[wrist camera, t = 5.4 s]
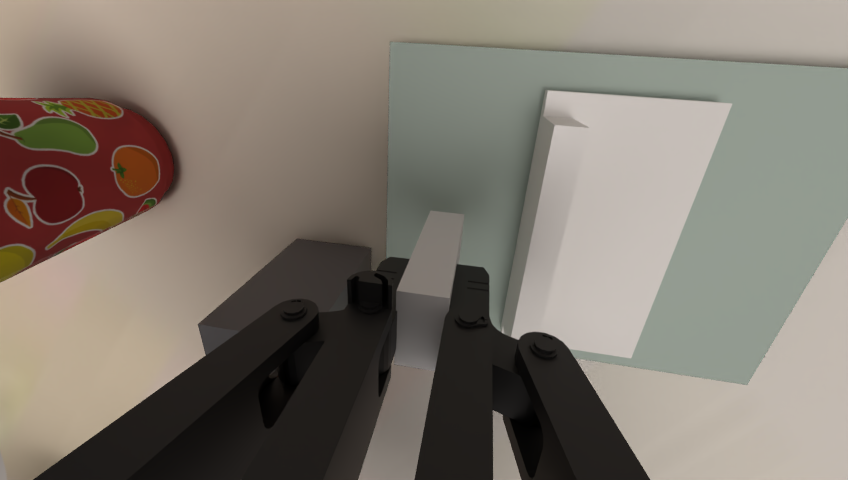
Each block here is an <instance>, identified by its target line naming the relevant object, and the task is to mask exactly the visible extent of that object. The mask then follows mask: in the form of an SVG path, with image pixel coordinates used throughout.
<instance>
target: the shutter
mask: <svg viewBox="0 0 848 480" xmlns="http://www.w3.org/2000/svg"><path fill="white" fill-rule="evenodd" d="M731 106H732V103H724V102H712V101H698V100H684V99H669V98H655V97H641V96H627V95H613V94H599V93H584V92H570V91H556V90H545V94H544V99H543V105H542V110H541V115H540V121H539V126H538V131H537V137H536V142H535V147H534V153H533V158H532V163H531V169H530V174H529V179H528V185H527V190H526V195H525V200H524V206H523V211H522V216H521V222H520V227H519V232H518V238H517V243H516V248H515V254H514V259H513V264H512V270H511V275H510V280H509V286H508V291H507V296H506V302H505V307H504V312H503V318H502V323H501V328H500V332H502V333H503V334H505V335H508V336H510V337H512V338H515V339H518V340H519V338H520V336H522V335H524V334H525V333H529V332H542V333H547V334H549V335H552V336H555V337H556V338H558V339H559V340H561V341H563V342H564V344H565V345H566V346H567V347H568V348H569V349H572V350H579V351H586V352H592V353H599V354H605V355H612V356H618V357H625V358H632V355H633V353H634V350H635V348H636V345H637V343H638V340H639V337H640V335H641V332H642V330H643V327H644V325H645V322H646V320H647V317H648V315H649V312H650V310H651V307H652V305H653V302H654V300H655V297H656V295H657V292H658V290H659V287H660V285H661V282H662V280H663V277H664V275H665V272H666V270H667V267H668V265H669V262H670V260H671V257H672V255H673V252H674V250H675V247H676V245H677V242H678V240H679V237H680V234H681V232H682V229H683V227H684V224H685V222H686V219H687V217H688V214H689V212H690V209H691V207H692V204H693V202H694V199H695V197H696V194H697V192H698V189H699V187H700V184H701V182H702V179H703V177H704V174H705V172H706V169H707V167H708V164H709V162H710V159H711V157H712V154H713V152H714V149H715V147H716V144H717V142H718V139H719V137H720V134H721V131H722V129H723V126H724V124H725V121H726V119H727V116H728V114H729V111H730V109H731Z"/></svg>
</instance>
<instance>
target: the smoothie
mask: <svg viewBox="0 0 848 480" xmlns="http://www.w3.org/2000/svg"><path fill="white" fill-rule="evenodd" d="M173 174H174V165H173V160H172V155H171V153H170V150H169V148H168V146H167V144H166V142H165V140H164V138H163V137H162V136H161V134H160V133H159V132H158V131H157V129H156V128H155V127H154V126H153V125H152V124H151V123H150V122H148V121H147V120H146V119H145V118H144V117H143V116H141V115H139V114H137V113H135V112H133V111H131V110H129V109H124V108H121V107H119V106H117V105H115V104H113V103H111V102H108V101H105V100H99V99H93V98H0V282H2V281H5V280H7V279H9V278H11V277H13V276H15V275H17V274H19V273H21V272H23V271H25V270H27V269H29V268H31V267H33V266H35V265H37V264H39V263H41V262H43V261H45V260H47V259H50V258H52V257H54V256H56V255H58V254H60V253H62V252H64V251H66V250H68V249H70V248H72V247H74V246H76V245H78V244H80V243H82V242H84V241H86V240H88V239H90V238H93V237H95V236H97V235H99V234H101V233H103V232H105V231H107V230H109V229H111V228H113V227H115V226H117V225H119V224H121V223H123V222H125V221H127V220H129V219H131V218H133V217H135V216H138V215H140V214H142V213H144V212H146V211H148V210H150V209H151V208H153V207H154V206H156V205H157V204H158V203H159V202H160V200H161V198H162V196H163V195H164V193H165V192H166V191H167V190H168V188H169V187H170V185H171V183H172V181H173Z"/></svg>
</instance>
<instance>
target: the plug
mask: <svg viewBox="0 0 848 480" xmlns="http://www.w3.org/2000/svg"><path fill="white" fill-rule="evenodd" d="M362 271H371V248H366V247H358V246H350V245H343V244H335V243H327V242H319V241H312V240H304V239H296V240H295V241H294V242H293V243H291V244H290V245H289V246H288V247H287V248H286V249H285V250H283V251H282V252H281V253H280V254H279V255H278V256H276V257H275V258H274V259H273V260H272V261H271V262H269V263H268V264H267V265H266V266H265V267H264V268H263V269H261V270H260V271H259V272H258V273H257V274H256V275H254V276H253V277H252V278H251V279H250V280H249V281H247V282H246V283H245V284H244V285H243V286H242V287H241V288H239V289H238V290H237V291H236V292H235V293H234V294H232V295H231V296H230V297H229V298H228V299H227V300H225V301H224V302H223V303H222V304H221V305H220V306H219V307H217V308H216V309H215V310H214V311H213V312H212V313H210V314H209V315H208V316H207V317H206V318H205V319H203V320H202V321H201V322H200V323H199V324H198V327H199V331H200V335H201V338H202V342H203V346H204V350H205V354H206V355H207V354H209V353H210V352H212V351H213V350H214V349H216V348H217V347H219V346H220V345H221V344H223V343H224V342H225V341H227V340H228V339H230V338H231V337H232V336H234V335H235V334H237V333H238V332H239V331H241V330H242V329H244V328H245V327H246V326H248V325H249V324H251V323H252V322H253V321H255V320H256V319H258V318H259V317H260V316H262V315H263V314H264V313H266V312H267V311H269V310H270V309H271V308H273V307H274V306H276V305H278V304H279V303H281V302H283V301H287V300H291V299H307V300H310V301H312V302H314V303H316V305H317V306H318V310H319V312H332V311H340V310H344V309H345V307H346V306H347V304H348V295H347V279H348V278H349V277H350V276H351V275H353V274H355V273H358V272H362ZM276 369H277V368H276ZM276 369H275V370H276ZM275 370H274V371H275ZM274 371H273V372H274ZM273 372H272V373H273ZM272 373H271V374H272Z"/></svg>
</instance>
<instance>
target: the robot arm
mask: <svg viewBox="0 0 848 480" xmlns="http://www.w3.org/2000/svg"><path fill="white" fill-rule="evenodd" d="M463 222H464V214H457V213H448V212H439V211H430V213H429V215H428V218H427V220H426V222H425V225H424V227H423V229H422V232H421V234H420V236H419V239H418V241H417V243H416V246H415V248H414V251H413V253H412V255H411V258H410V259H406V258H398V257H388V258H387V259H385V260H384V261H382V262H381V263H380V265H379V267H378V268H377V271H362V272H358V273H355V274H353V275H351V276H350V277H349V278H348V279H347V295H348V304H347V306H346V307H345V309H344V310H340V311H332V312H319V310H318V306H317V305H316V303H314V302H312V301H310V300H307V299H291V300H287V301H283V302H281V303H279V304H278V305H276V306H274V307H273V308H271V309H270V310H269V311H267V312H266V313H264V314H263V315H262V316H260V317H259V318H258V319H256V320H255V321H253V322H252V323H251V324H249V325H248V326H246V327H245V328H244V329H242V330H241V331H239V332H238V333H237V334H235V335H234V336H232V337H231V338H230V339H228V340H227V341H225V342H224V343H223V344H221V345H220V346H219V347H217V348H216V349H214V350H213V351H212V352H210V353H209V354H207V355H206V356H205V357H203V358H202V359H200V360H199V361H198V362H196V363H195V364H193V365H192V366H191V367H189V368H188V369H187V370H185V371H184V372H182V373H181V374H180V375H178V376H177V377H175V378H174V379H173V380H171V381H170V382H168V383H167V384H166V385H164V386H163V387H161V388H160V389H159V390H157V391H156V392H155V393H153V394H152V395H150V396H149V397H148V398H146V399H145V400H143V401H142V402H141V403H139V404H138V405H136V406H135V407H134V408H132V409H131V410H129V411H128V412H127V413H125V414H124V415H123V416H121V417H120V418H118V419H117V420H116V421H114V422H113V423H111V424H110V425H109V426H107V427H106V428H104V429H103V430H102V431H100V432H99V433H97V434H96V435H95V436H93V437H92V438H90V439H89V440H88V441H86V442H85V443H84V444H82V445H81V446H79V447H78V448H77V449H75V450H74V451H72V452H71V453H70V454H68V455H67V456H65V457H64V458H63V459H61V460H60V461H58V462H57V463H56V464H54V465H53V466H52V467H50V468H49V469H47V470H46V471H45V472H43V473H42V474H40V475H39V476H38V477H36V478H35V479H33V480H358V478H359V475H360V472H361V468H362V465H363V462H364V459H365V456H366V453H367V450H368V447H369V443H370V440H371V437H372V434H373V431H374V428H375V425H376V422H377V418H378V415H379V412H380V409H381V406H382V403H383V400H384V397H385V393H386V390H387V387H388V384H389V381H390V378H391V363H392V360H393V357H394V354H395V361H394V365H400V366H406V367H412V368H418V369H424V370H431V371H435V373H434V378H433V384H432V389H431V395H430V400H429V405H428V411H427V416H426V421H425V427H424V432H423V438H422V443H421V448H420V454H419V459H418V464H417V470H416V475H415V480H493V410H494V411H496V412H498V413H501V414H503V421H504V424H505V427H506V430H507V434H508V437H509V440H510V443H511V447H512V450H513V453H514V456H515V460H516V463H517V466H518V469H519V472H520V476H521V479H522V480H650V478H649V477H648V475H647V474H646V472H645V470H644V469H643V467H642V466H641V464H640V462H639V461H638V459H637V458H636V456H635V454H634V453H633V451H632V449H631V448H630V446H629V445H628V443H627V441H626V440H625V438H624V437H623V435H622V433H621V432H620V430H619V429H618V427H617V425H616V424H615V422H614V420H613V419H612V417H611V416H610V414H609V412H608V411H607V409H606V408H605V406H604V404H603V403H602V401H601V400H600V398H599V396H598V395H597V393H596V391H595V390H594V388H593V387H592V385H591V383H590V382H589V380H588V379H587V377H586V375H585V374H584V372H583V371H582V369H581V367H580V366H579V364H578V362H577V361H576V359H575V358H574V356H573V354H572V353H571V351H570V350H569V348H568V347H567V346H566V345H565V344H564V342H563V341H561V340H559V339H558V338H556V337H555V336H552V335H549V334H547V333H542V332H529V333H525V334H524V335H522V336H520V338H519V340H518V339H515V338H512V337H510V336H508V335H505V334H503V333H502V332H500V331H499V330H497V329H496V328H495V327H494V326H493V324H492V322H491V319H490V316H489V274H488V273H487V271H486V270H485V268H484V267H477V266H469V265H461V264H459V259H460V250H461V241H462V232H463ZM276 368H277V369H276ZM275 369H276V370H275ZM274 370H275V371H274ZM273 371H274V372H273ZM272 372H273V373H272ZM271 373H272V374H271Z"/></svg>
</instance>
